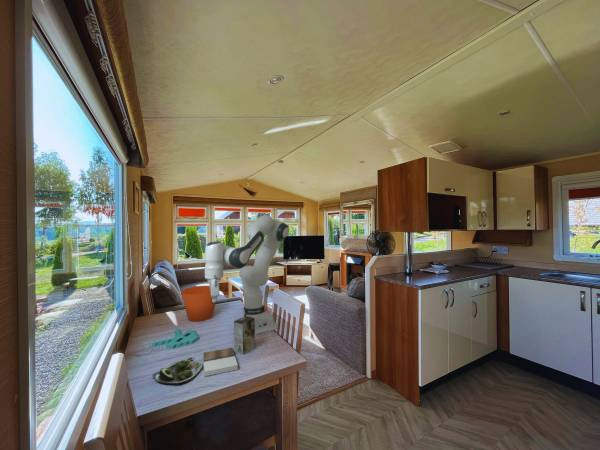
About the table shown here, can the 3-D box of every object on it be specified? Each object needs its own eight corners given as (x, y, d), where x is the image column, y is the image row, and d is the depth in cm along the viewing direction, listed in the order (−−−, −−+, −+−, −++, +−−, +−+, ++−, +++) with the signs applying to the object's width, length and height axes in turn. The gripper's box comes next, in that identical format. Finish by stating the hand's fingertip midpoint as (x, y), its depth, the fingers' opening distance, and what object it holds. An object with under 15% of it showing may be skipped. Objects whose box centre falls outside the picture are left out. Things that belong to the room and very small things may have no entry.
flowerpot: (211, 324, 168) (211, 294, 168) (174, 324, 168) (174, 294, 168) (223, 311, 193) (223, 285, 193) (190, 311, 193) (190, 285, 193)
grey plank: (234, 360, 122) (234, 356, 122) (237, 369, 114) (237, 364, 114) (203, 366, 117) (203, 361, 117) (204, 376, 109) (204, 371, 109)
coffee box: (246, 345, 138) (246, 315, 138) (255, 347, 135) (255, 317, 135) (233, 352, 130) (233, 320, 130) (242, 355, 127) (242, 323, 127)
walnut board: (232, 351, 131) (232, 347, 131) (234, 359, 123) (234, 355, 123) (203, 356, 126) (203, 352, 126) (203, 365, 118) (203, 361, 118)
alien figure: (151, 347, 137) (184, 350, 133) (151, 343, 137) (184, 346, 133) (176, 332, 156) (205, 334, 152) (176, 328, 156) (205, 331, 152)
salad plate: (176, 359, 124) (176, 350, 124) (210, 362, 121) (210, 353, 121) (146, 384, 105) (146, 372, 105) (185, 388, 102) (185, 376, 102)
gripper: (222, 277, 119) (222, 306, 119) (219, 270, 138) (219, 295, 138) (208, 278, 116) (208, 308, 116) (206, 271, 135) (206, 297, 135)
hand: (214, 301), depth 127 cm, fingers closed
